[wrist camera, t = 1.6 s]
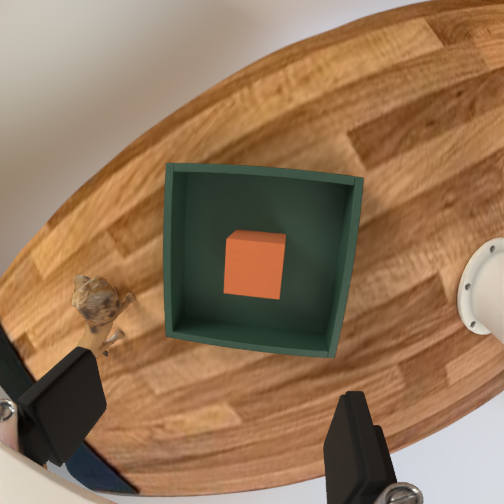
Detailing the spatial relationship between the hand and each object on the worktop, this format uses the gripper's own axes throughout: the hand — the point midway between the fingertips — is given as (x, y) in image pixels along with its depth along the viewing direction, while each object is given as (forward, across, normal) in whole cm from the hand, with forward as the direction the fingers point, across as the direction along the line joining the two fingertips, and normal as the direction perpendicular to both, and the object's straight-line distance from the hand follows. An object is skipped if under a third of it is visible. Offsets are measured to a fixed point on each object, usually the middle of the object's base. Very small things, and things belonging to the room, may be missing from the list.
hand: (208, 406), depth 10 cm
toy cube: (+22, 0, 0) cm, 22 cm away
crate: (+22, 0, 0) cm, 22 cm away
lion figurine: (+23, +18, +9) cm, 30 cm away
